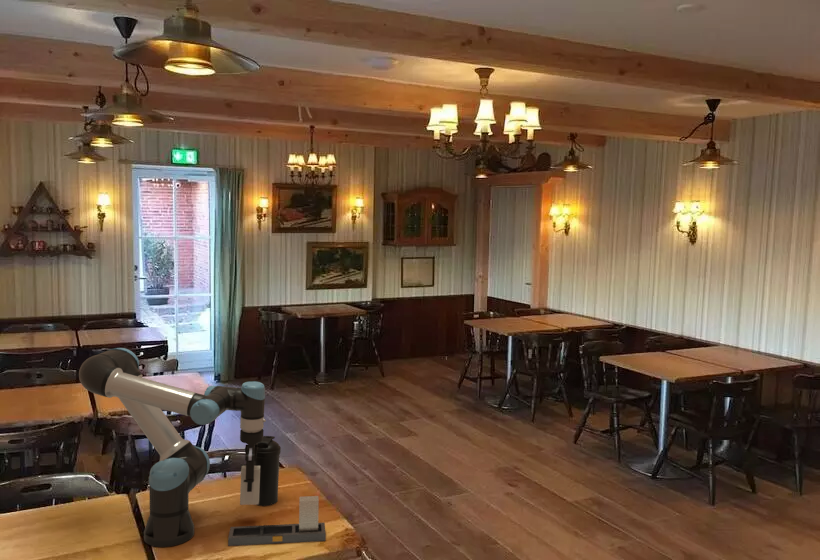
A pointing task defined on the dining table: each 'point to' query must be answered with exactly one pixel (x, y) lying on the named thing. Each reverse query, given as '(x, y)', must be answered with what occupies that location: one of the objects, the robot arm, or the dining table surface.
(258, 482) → the block
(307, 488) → the dining table surface
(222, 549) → the dining table surface
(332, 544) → the dining table surface
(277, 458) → the water bottle
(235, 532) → the rack
